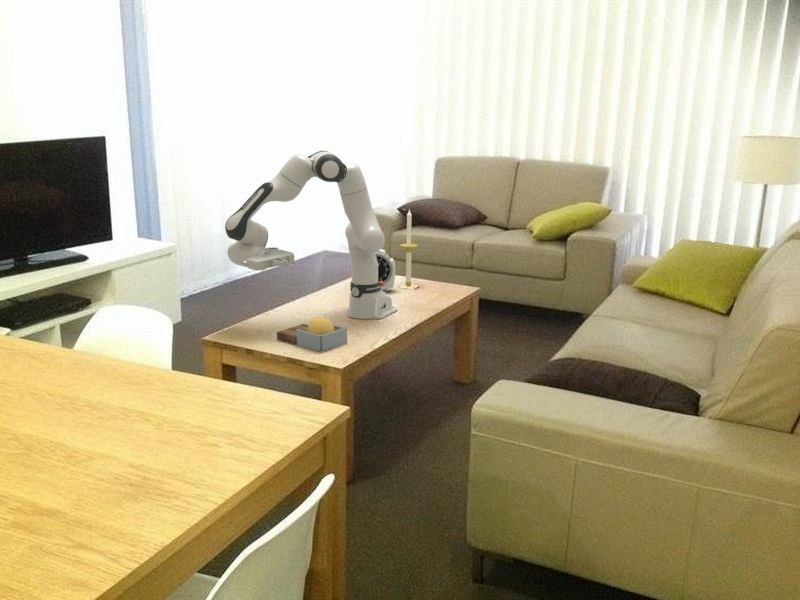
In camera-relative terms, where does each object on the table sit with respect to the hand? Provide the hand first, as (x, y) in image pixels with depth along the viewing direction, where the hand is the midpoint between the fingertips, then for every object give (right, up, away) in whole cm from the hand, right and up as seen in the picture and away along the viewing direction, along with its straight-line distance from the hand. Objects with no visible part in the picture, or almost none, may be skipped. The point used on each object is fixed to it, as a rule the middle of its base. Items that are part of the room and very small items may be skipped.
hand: (285, 263), depth 303 cm
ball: (+14, -25, -6) cm, 30 cm away
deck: (+5, -28, +3) cm, 29 cm away
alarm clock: (+32, -10, +73) cm, 80 cm away
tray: (+14, -30, -4) cm, 33 cm away
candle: (+47, -8, +82) cm, 95 cm away
